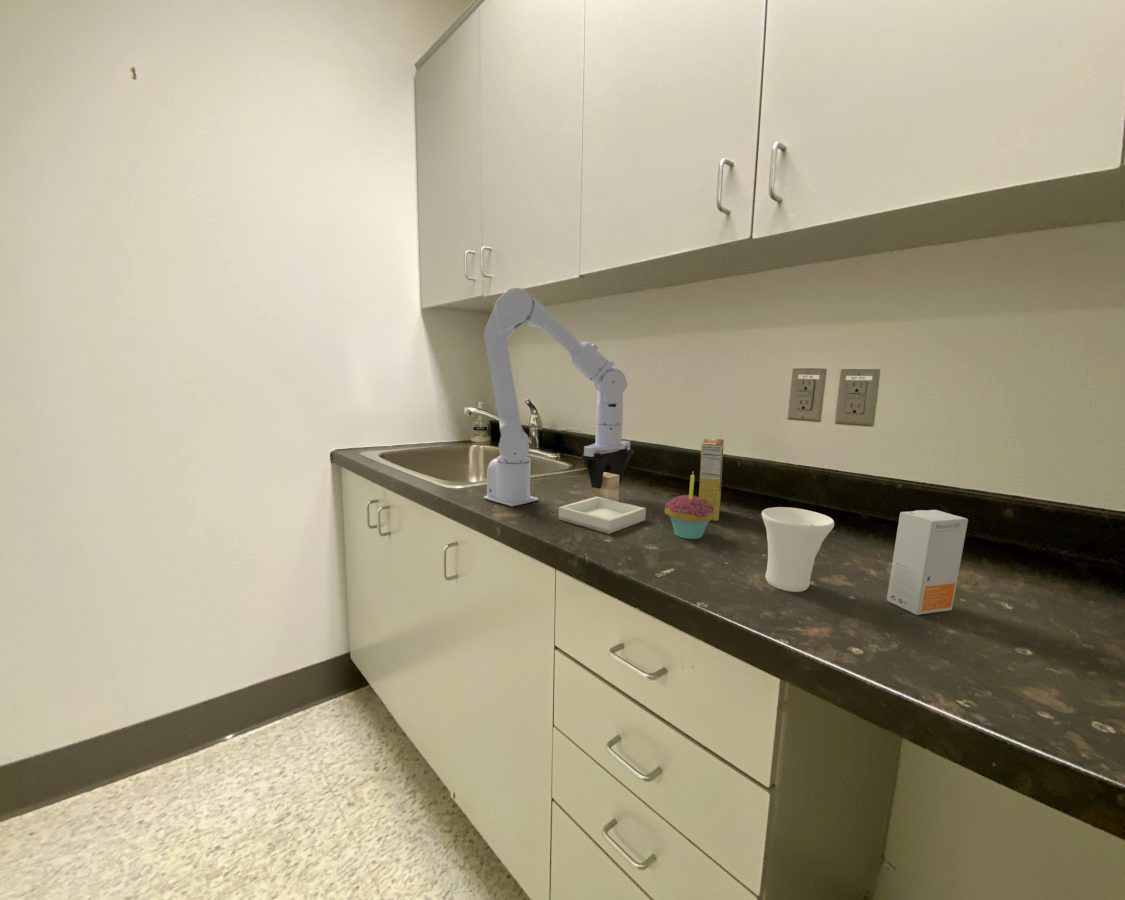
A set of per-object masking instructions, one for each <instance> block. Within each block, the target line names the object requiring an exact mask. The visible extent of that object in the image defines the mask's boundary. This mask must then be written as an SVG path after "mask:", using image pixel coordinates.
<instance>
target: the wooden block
mask: <svg viewBox="0 0 1125 900" xmlns="http://www.w3.org/2000/svg"><path fill="white" fill-rule="evenodd" d="M619 490H620V483H619V475H617V474H612V473H611V472H606V471H605V472H603V480H602V486H601V488H600V489H598V488H593V496H592V498H593V497H601V498H605V499H609V500H614V501H618V502H619V493H620V492H619Z"/></svg>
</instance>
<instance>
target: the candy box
mask: <svg viewBox="0 0 1125 900" xmlns="http://www.w3.org/2000/svg"><path fill="white" fill-rule="evenodd" d="M724 440H725V439H720V438H719V439H718V438H704V439H703V441H702V443H701V446H700V450H701V451H700V469H699V483H698V485H699V486H698V487H699V489H698V497H699V498H702V499H703V500H704V499H705V500H706V501H708V502H709V503H710V504H711V505H712V507H714V510H713V511H714V518H713V519H712V521H713V522H719V518H720V513H721V499H722V497H721V496H722V495H721V494H722V483H723V482H722V481H723V479H722V478H723V477H722V476H723V460H724V443H725V441H724Z"/></svg>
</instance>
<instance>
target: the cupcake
mask: <svg viewBox="0 0 1125 900" xmlns="http://www.w3.org/2000/svg"><path fill="white" fill-rule="evenodd" d="M695 476H696V475H694V471H693V470H692V474H691V475H690V479H689V480H690V481H689V492H688V494H682V495H678V496H675V497H673V498H671V499H669V500H668V501H667V502H666V504H665V505H664V514H665V515H667V516H668V517H669V518H670V521H671V524H672V527H673V531H674V535H676V536H677V537H679V538H682V539H687V540H698V539H701V538H702V537H703V535H704V532H705V530H706V528H707V526H708V523H709V522H711V520H712V519H713V518H714V511H713V510H714V507H712V505H711V504H710V503H709V502H708V501H706V500H705V499H704V500H703V499H702V498H699V496H696V495H694V486H695V478H696V477H695Z"/></svg>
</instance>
